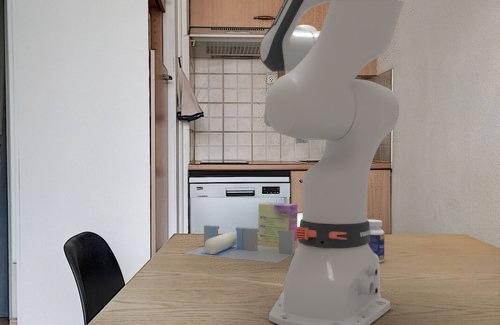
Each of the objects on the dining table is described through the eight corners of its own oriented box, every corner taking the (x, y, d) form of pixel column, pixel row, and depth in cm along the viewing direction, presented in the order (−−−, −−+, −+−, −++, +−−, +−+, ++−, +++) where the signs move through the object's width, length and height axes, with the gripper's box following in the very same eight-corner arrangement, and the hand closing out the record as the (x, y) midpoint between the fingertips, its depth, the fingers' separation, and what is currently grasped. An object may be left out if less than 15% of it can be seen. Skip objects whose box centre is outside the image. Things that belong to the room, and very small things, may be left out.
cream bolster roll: (215, 257, 115) (220, 242, 114) (202, 250, 117) (207, 235, 116) (235, 248, 126) (240, 235, 126) (223, 242, 128) (228, 229, 127)
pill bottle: (385, 264, 109) (385, 222, 109) (360, 263, 110) (360, 221, 110) (383, 258, 114) (383, 219, 114) (359, 258, 116) (359, 218, 115)
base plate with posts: (277, 266, 107) (277, 237, 107) (183, 256, 118) (183, 230, 118) (302, 252, 123) (302, 227, 123) (217, 244, 134) (217, 222, 134)
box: (297, 243, 136) (297, 203, 136) (288, 246, 131) (288, 205, 131) (267, 240, 142) (267, 202, 142) (258, 243, 137) (257, 203, 137)
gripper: (344, 89, 118) (344, 142, 118) (270, 94, 127) (271, 144, 127) (338, 85, 112) (338, 142, 112) (261, 91, 121) (261, 143, 121)
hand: (301, 143), depth 120 cm, fingers closed
